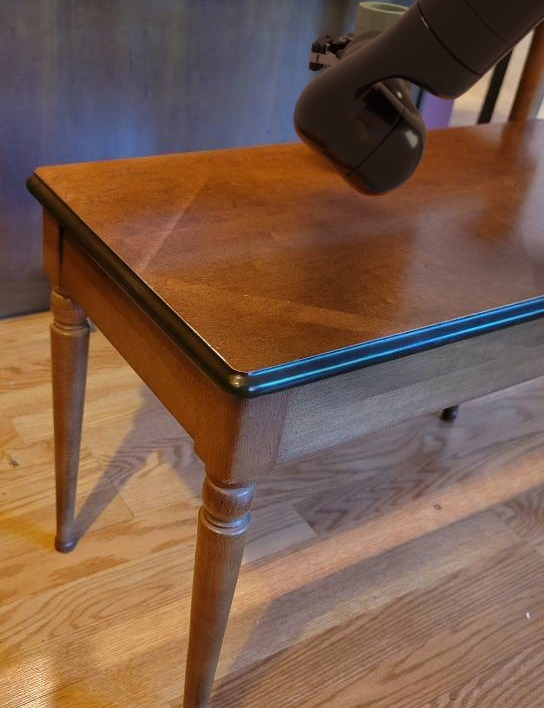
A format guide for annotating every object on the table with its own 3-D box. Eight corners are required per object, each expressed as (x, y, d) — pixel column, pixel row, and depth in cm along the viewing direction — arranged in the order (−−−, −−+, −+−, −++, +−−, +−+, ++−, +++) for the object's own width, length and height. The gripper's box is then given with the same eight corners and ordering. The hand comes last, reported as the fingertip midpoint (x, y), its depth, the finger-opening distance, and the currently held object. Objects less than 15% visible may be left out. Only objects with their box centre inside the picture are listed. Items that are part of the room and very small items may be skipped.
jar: (394, 110, 88) (417, 7, 82) (392, 125, 83) (416, 16, 77) (342, 101, 89) (361, -1, 82) (337, 116, 84) (357, 7, 77)
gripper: (458, 50, 68) (452, 20, 81) (303, 27, 69) (322, 1, 83) (436, 133, 72) (434, 92, 86) (292, 110, 74) (312, 72, 87)
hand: (379, 47), depth 84 cm, fingers closed on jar, 6 cm apart
